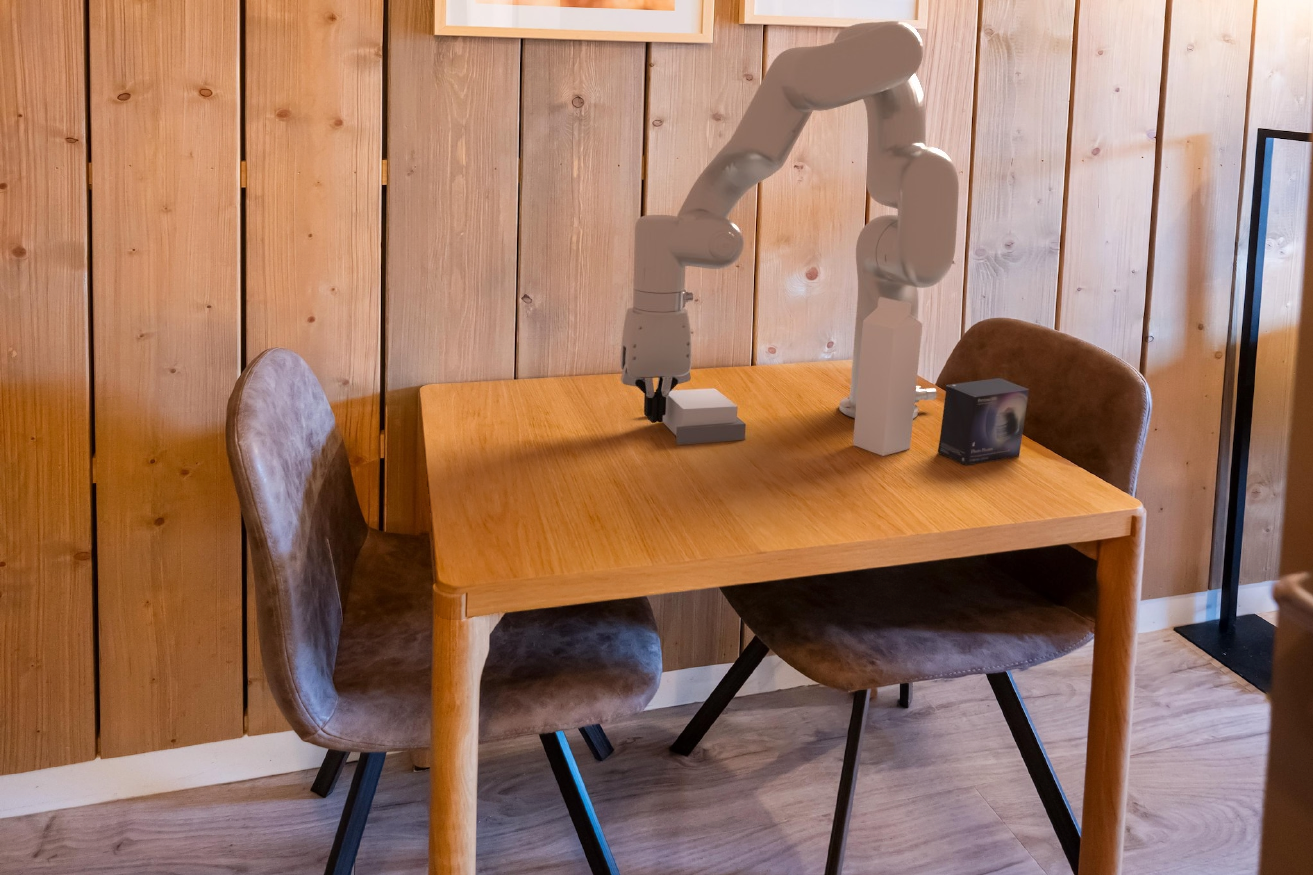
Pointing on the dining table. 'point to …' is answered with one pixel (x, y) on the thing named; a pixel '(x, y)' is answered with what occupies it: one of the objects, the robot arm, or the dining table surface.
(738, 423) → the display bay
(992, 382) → the small box
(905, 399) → the milk
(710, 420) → the carton
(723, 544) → the dining table surface
